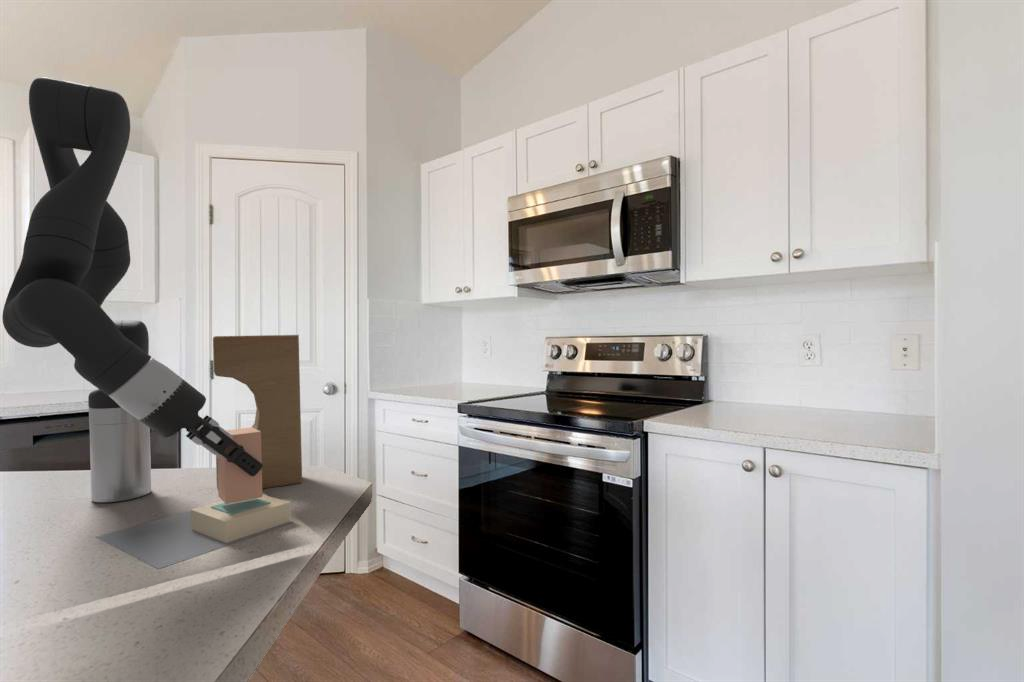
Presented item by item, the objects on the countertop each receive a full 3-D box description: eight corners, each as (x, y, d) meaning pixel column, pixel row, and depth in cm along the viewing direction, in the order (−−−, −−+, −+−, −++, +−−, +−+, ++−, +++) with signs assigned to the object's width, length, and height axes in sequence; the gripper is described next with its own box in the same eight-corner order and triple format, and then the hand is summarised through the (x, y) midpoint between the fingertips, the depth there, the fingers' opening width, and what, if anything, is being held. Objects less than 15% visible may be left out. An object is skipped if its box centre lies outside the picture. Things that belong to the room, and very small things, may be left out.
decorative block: (217, 495, 101) (213, 336, 100) (216, 486, 107) (212, 336, 107) (302, 483, 108) (299, 334, 108) (296, 475, 115) (293, 334, 114)
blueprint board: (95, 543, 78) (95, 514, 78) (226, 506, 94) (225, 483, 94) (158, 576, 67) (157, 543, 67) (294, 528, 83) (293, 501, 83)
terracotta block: (226, 504, 78) (224, 436, 78) (218, 496, 82) (216, 431, 82) (262, 497, 82) (260, 431, 81) (253, 489, 85) (252, 427, 85)
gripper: (189, 380, 71) (285, 455, 79) (172, 374, 82) (258, 441, 90) (142, 424, 68) (247, 499, 76) (131, 412, 79) (224, 478, 87)
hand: (252, 467), depth 83 cm, fingers closed on terracotta block, 5 cm apart
